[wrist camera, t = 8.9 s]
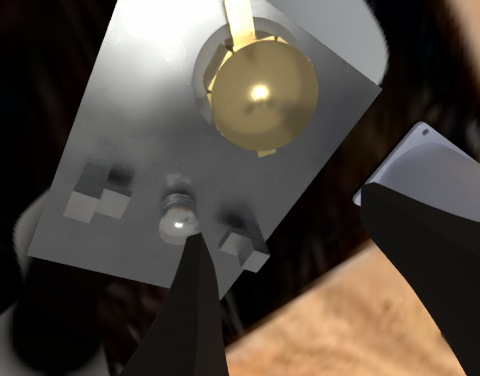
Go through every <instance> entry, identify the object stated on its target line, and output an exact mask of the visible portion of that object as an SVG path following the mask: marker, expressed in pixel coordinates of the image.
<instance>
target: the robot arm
mask: <svg viewBox="0 0 480 376" xmlns="http://www.w3.org/2000/svg"><path fill="white" fill-rule="evenodd" d="M424 130H425V131H424ZM423 131H424V132H423ZM353 201H354V203H355V204H357V205H359V206H361V207H360V221H361V223H362V224H363V226H364V228H365V229H366V231H367V232H368V234H369V235H370V237H371V239H372V240H373V241H374V242H375V244H376V245H377V246H378V247H379V248H380V250H381V251H382V252H383V253H384V254H385V256H386V257H387V258H388V259H389V260H390V262H391V263H392V264H393V265H394V266H395V268H396V269H397V270H398V271H399V272H400V273H401V275H402V276H403V277H404V278H405V279H406V281H407V282H408V283H409V285H410V286H411V287H412V289H413V290H414V292H415V293H416V294H417V296H418V297H419V299H420V300H421V302H422V303H423V305H424V306H425V308H426V309H427V311H428V312H429V314H430V315H431V317H432V319H433V320H434V322H435V323H436V325H437V326H438V328H439V329H440V331H441V333H442V334H443V336H444V338H445V339H446V341H447V343H448V344H449V346H450V348H451V349H452V351H453V353H454V354H455V356H456V358H457V359H458V361H459V363H460V365H461V367H462V368H463V370H464V372H465V374H466V375H467V376H480V164H479V163H477V162H476V161H475V160H473V159H472V158H471V157H469V156H468V155H467V154H466V153H464V152H463V151H462V150H460V149H459V148H458V147H456V146H455V145H454V144H452V143H451V142H450V141H448V140H447V139H446V138H444V137H443V136H442V135H441V134H439V133H438V132H437V131H435V130H434V129H433V128H431V127H430V126H429V125H427V124H426V123H424V122H418V123H416V124H415V125H414V126H413V128H412V129H411V130H410V131H409V132H408V133H407V135H406V136H405V137H404V138H403V139H402V140H401V142H400V143H399V144H398V145H397V146H396V147H395V149H394V150H393V151H392V152H391V153H390V154H389V156H388V157H387V158H386V159H385V160H384V161H383V163H382V164H381V165H380V166H379V167H378V168H377V170H376V171H375V172H374V173H373V174H372V175H371V177H370V178H369V179H368V180H367V181H366V182H365V184H364V185H361V188H360V189H359V191H358V192H357V193H356V194H355V195H354V197H353ZM118 376H229V373H228V367H227V362H226V356H225V350H224V344H223V336H222V325H221V313H220V300H219V289H218V282H217V277H216V272H215V267H214V263H213V261H212V258H211V256H210V253H209V250H208V248H207V245H206V243H205V240H204V238H203V235H202V233H198V234H194V235H191V236H188V237H187V238H186V241H185V245H184V249H183V253H182V256H181V259H180V263H179V266H178V268H177V271H176V274H175V277H174V280H173V282H172V284H171V287H170V289H169V292H168V294H167V296H166V298H165V301H164V303H163V305H162V307H161V309H160V311H159V313H158V315H157V317H156V319H155V320H154V322H153V324H152V326H151V327H150V329H149V331H148V333H147V334H146V336H145V337H144V339H143V341H142V342H141V344H140V345H139V347H138V348H137V350H136V351H135V353H134V354H133V356H132V357H131V359H130V360H129V361H128V363H127V364H126V366H125V367H124V369H123V370H122V371H121V373H120V374H119V375H118Z"/></svg>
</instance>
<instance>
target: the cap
mask: <svg viewBox="0 0 480 376" xmlns="http://www.w3.org/2000/svg"><path fill="white" fill-rule="evenodd" d="M223 5H224V9H225V14H226V18H227V23H228V28H229V32H230V37H231V38H228V39H225V40H224V43H225V46H224V45H223V44H221V43H220V44H219V46H218V48H217V50H216V51H215V53H214V55H213V57H212V59H211V61H210V63H209V65H208V67H207V69H206V70H205V72H204V74H203V78H204V80H202V81H203V85H204V88H205V92H206V95H207V99H208V102H209V106H210V109H211V113H212V116H213V118H214V121H215V124H216V127H217V130H218V131H220V134H221V135H223V136H225V137H226V138H227V139H228V140H229V141H231V142H232V143H233V144H235V145H237V146H239V147H241V148H243V149H247V150H251V151H256V154H257V155H258V157H263V156H266V155H269V154H273V153H276V149H277V148H279V147H282V146H284V145H286V144H288V143H289V142H291V141H292V140H294V139H295V138H296V137H297V136H298V135H299V134H300V133H301V132H302V131H303V130H304V129H305V128H306V126H307V125H308V123H309V122H310V120H311V118H312V116H313V114H314V111H315V109H316V105H317V101H318V81H317V77H316V73H315V71H314V68H313V64H311V63H310V59H309V58H307V57H306V56H305V55H304V54H303V53H302V52H300V51H299V50H298V49H296V48H295V47H293V46H291V45H290V44H288V43H287V42H286V41H284V40H283V39H282V38H280V37H279V36H276V35H273V34H271V33H268V32H265V31H260V30H257V31H255V30H254V25H253V19H252V13H251V8H250V2H249V0H225V1H223Z"/></svg>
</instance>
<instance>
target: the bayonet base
mask: <svg viewBox="0 0 480 376" xmlns="http://www.w3.org/2000/svg"><path fill="white" fill-rule="evenodd" d="M223 1H225V0H118V1H117V4H116V7H115V10H114V12H113V15H112V18H111V21H110V24H109V26H108V29H107V32H106V35H105V37H104V40H103V43H102V46H101V49H100V51H99V54H98V57H97V60H96V63H95V65H94V68H93V71H92V74H91V77H90V79H89V82H88V85H87V88H86V91H85V93H84V96H83V99H82V102H81V105H80V107H79V110H78V113H77V116H76V119H75V121H74V124H73V127H72V130H71V132H70V135H69V138H68V141H67V144H66V146H65V149H64V152H63V155H62V158H61V160H60V163H59V166H58V169H57V172H56V174H55V177H54V180H53V183H52V186H51V188H50V191H49V194H48V197H47V200H46V203H45V205H44V208H43V211H42V214H41V216H40V219H39V222H38V225H37V227H36V230H35V233H34V236H33V239H32V241H31V245H30V247H29V250H28V253H27V255H29V256H33V257H37V258H41V259H46V260H50V261H55V262H59V263H63V264H67V265H72V266H76V267H80V268H84V269H89V270H93V271H97V272H102V273H106V274H110V275H114V276H119V277H123V278H127V279H132V280H136V281H140V282H145V283H149V284H153V285H157V286H162V287H166V288H170V287H171V284H172V282H173V280H174V277H175V274H176V271H177V268H178V266H179V263H180V259H181V256H182V253H183V249H184V245H185V241H186V238H187V237H188V236H191V235H194V234H198V233H202V235H203V238H204V240H205V243H206V245H207V248H208V250H209V253H210V256H211V258H212V261H213V263H214V267H215V272H216V277H217V282H218V289H219V300H221V299H222V297H223V296H224V295H225V293H226V292H227V291H228V289H229V288H230V287H231V286H232V284H233V283H234V282H235V280H236V279H237V278H238V276H239V275H240V274H241V273H242V271H243V270H244V269H246V270H250V271H253V272H258V270H259V269H260V268H261V267H262V265H263V264H264V263H265V262H266V260H267V259H268V258H269V257H270V254H269V251H268V249H267V246H266V243H265V241H266V240H267V239H268V237H269V236H270V235H271V233H272V232H273V231H274V230H275V228H276V227H277V226H278V224H279V223H280V222H281V220H282V219H283V218H284V217H285V215H286V214H287V213H288V211H289V210H290V209H291V207H292V206H293V205H294V204H295V202H296V201H297V200H298V198H299V197H300V196H301V194H302V193H303V192H304V191H305V189H306V188H307V187H308V185H309V184H310V183H311V181H312V180H313V179H314V178H315V176H316V175H317V174H318V172H319V171H320V170H321V168H322V167H323V166H324V165H325V163H326V162H327V161H328V159H329V158H330V157H331V155H332V154H333V153H334V152H335V150H336V149H337V148H338V146H339V145H340V144H341V142H342V141H343V140H344V139H345V137H346V136H347V135H348V133H349V132H350V131H351V129H352V128H353V127H354V126H355V124H356V123H357V122H358V120H359V119H360V118H361V116H362V115H363V114H364V113H365V111H366V110H367V109H368V107H369V106H370V105H371V103H372V102H373V101H374V100H375V98H376V97H377V96H378V94H379V93H380V92H381V90H382V88H380V87H379V86H378V85H376V84H375V83H374V82H372V81H371V80H370V79H368V78H367V77H366V76H364V75H363V74H362V73H360V72H359V71H358V70H356V69H355V68H354V67H353V66H351V65H350V64H349V63H347V62H346V61H345V60H343V59H342V58H341V57H340V56H338V55H337V54H336V53H334V52H333V51H332V50H330V49H329V48H328V47H326V46H325V45H324V44H322V43H321V42H320V41H318V40H317V39H316V38H314V37H313V36H312V35H311V34H309V33H308V32H307V31H305V30H304V29H303V28H301V27H300V26H299V25H297V24H296V23H295V22H294V21H292V20H291V19H290V18H288V17H287V16H286V15H284V14H283V13H282V12H280V11H279V10H278V9H276V8H275V7H274V6H273V5H271V4H270V3H269V2H267V1H266V0H249V2H250V8H251V13H252V19H253V25H254V30H255V31H257V30H260V31H265V32H268V33H271V34H273V35H276V36H279V37H280V38H282V39H283V40H284V41H286V42H287V43H288V44H290V45H291V46H293V47H295V48H296V49H298V50H299V51H300V52H302V53H303V54H304V55H305V56H306V57H307V58H309V59H310V63H311V64H313V68H314V71H315V73H316V77H317V81H318V101H317V105H316V109H315V111H314V114H313V116H312V118H311V120H310V122H309V123H308V125H307V126H306V128H305V129H304V130H303V131H302V132H301V133H300V134H299V135H298V136H297V137H296V138H295V139H294V140H292V141H291V142H289V143H288V144H286V145H284V146H282V147H279V148H277V149H276V153H273V154H269V155H266V156H263V157H258V155H257V154H256V151H251V150H247V149H243V148H241V147H239V146H237V145H235V144H233V143H232V142H231V141H229V140H228V139H227V138H226V137H225V136H223V135H221V134H220V131H218V130H217V127H216V124H215V121H214V118H213V116H212V113H211V109H210V106H209V102H208V99H207V95H206V92H205V88H204V85H203V81H202V80H204V78H203V74H204V72H205V70H206V69H207V67H208V65H209V63H210V61H211V59H212V57H213V55H214V53H215V51H216V50H217V48H218V46H219V44H220V43H221V44H223V45H224V46H225V43H224V40H225V39H228V38H231V37H230V32H229V28H228V23H227V18H226V14H225V9H224V5H223Z"/></svg>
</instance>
